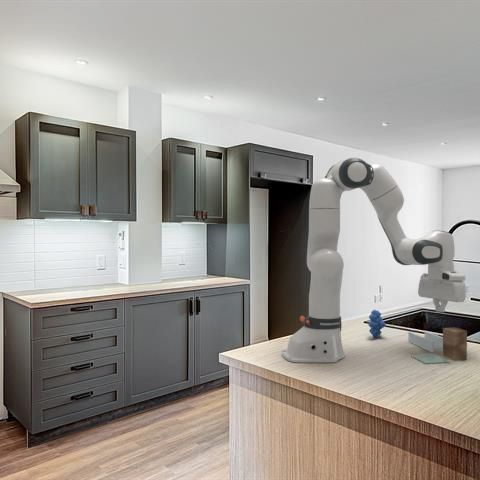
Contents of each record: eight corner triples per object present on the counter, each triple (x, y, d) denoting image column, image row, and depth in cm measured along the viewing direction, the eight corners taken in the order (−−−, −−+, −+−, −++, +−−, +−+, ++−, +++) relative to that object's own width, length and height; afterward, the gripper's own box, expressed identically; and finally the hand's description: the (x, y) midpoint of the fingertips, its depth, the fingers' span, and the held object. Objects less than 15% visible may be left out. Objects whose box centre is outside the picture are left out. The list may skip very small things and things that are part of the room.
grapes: (381, 342, 176) (381, 312, 175) (364, 339, 180) (364, 310, 179) (390, 336, 185) (390, 308, 185) (374, 334, 189) (374, 306, 189)
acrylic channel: (432, 352, 160) (432, 341, 160) (408, 341, 176) (408, 331, 176) (451, 351, 161) (451, 340, 161) (425, 340, 177) (425, 330, 177)
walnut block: (453, 360, 150) (453, 331, 150) (442, 355, 156) (442, 328, 156) (466, 359, 151) (466, 331, 151) (455, 355, 157) (455, 327, 156)
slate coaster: (425, 364, 146) (425, 363, 146) (410, 356, 155) (410, 355, 155) (449, 362, 147) (449, 361, 147) (433, 355, 156) (433, 354, 156)
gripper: (414, 272, 170) (413, 308, 170) (455, 276, 151) (454, 315, 151) (427, 273, 172) (426, 308, 172) (469, 276, 153) (468, 315, 152)
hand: (439, 311), depth 161 cm, fingers closed
